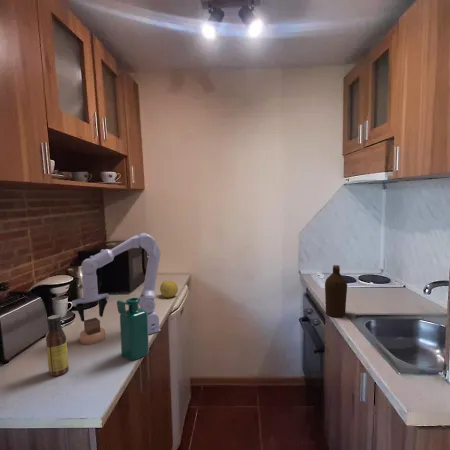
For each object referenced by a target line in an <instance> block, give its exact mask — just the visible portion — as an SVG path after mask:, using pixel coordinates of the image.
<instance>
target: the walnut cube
mask: <svg viewBox="0 0 450 450" xmlns="http://www.w3.org/2000/svg"><path fill="white" fill-rule="evenodd" d="M83 326H84V327H83V329H84V332H85V333H86V334H87V335H91V334H95V333H99V332H100V327H101V320H100V319H98V318H97V317H92V318H88V319H84V321H83Z"/></svg>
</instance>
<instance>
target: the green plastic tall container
mask: <svg viewBox="0 0 450 450" xmlns="http://www.w3.org/2000/svg"><path fill="white" fill-rule="evenodd" d="M140 300H141V299H140V298H139V297H130V298H129V297H128V298H127V299H126V300H125V301H123V300H121V299H120V300H117V301H116V307H117V311H118V313H119V327H120V328H119V329H120V349H121V351H120V353H121V356H122V357H124V358H126V359H128V360H130V361H135V360H138V359H140V358H142V357H145V356H146V355H148V354H149V353H150V349H149V348H150V347H149V346H150V343H149V341H150V340H149V335H148V314H147V312H146V311H145V310H142V309H140V307H139V303H138V302H139V301H140ZM126 305H127V306H128V308H127V309H126Z"/></svg>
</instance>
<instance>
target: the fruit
mask: <svg viewBox="0 0 450 450" xmlns="http://www.w3.org/2000/svg"><path fill="white" fill-rule="evenodd" d="M178 291H179V287H178V284H177V283H176V282H175V281H172V280H163V282H161V284H160V287H159V292H160V294H161V295H162V296H163V297H164V298H166V299H169V298H172V297H174V296H176V295H177V293H178Z"/></svg>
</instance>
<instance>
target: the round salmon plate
mask: <svg viewBox="0 0 450 450" xmlns="http://www.w3.org/2000/svg"><path fill="white" fill-rule="evenodd" d="M104 340H106V329H105V328H104V327H101V326H100V332H99V333H95V334H91V335H87V334H86V333H85V332H84V330H82V331H81V332H80V333H79V342H80V343H81V344H82V345H88V346H89V345H90V346H91V345H95V344H99V343H102V342H103V341H104Z"/></svg>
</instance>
